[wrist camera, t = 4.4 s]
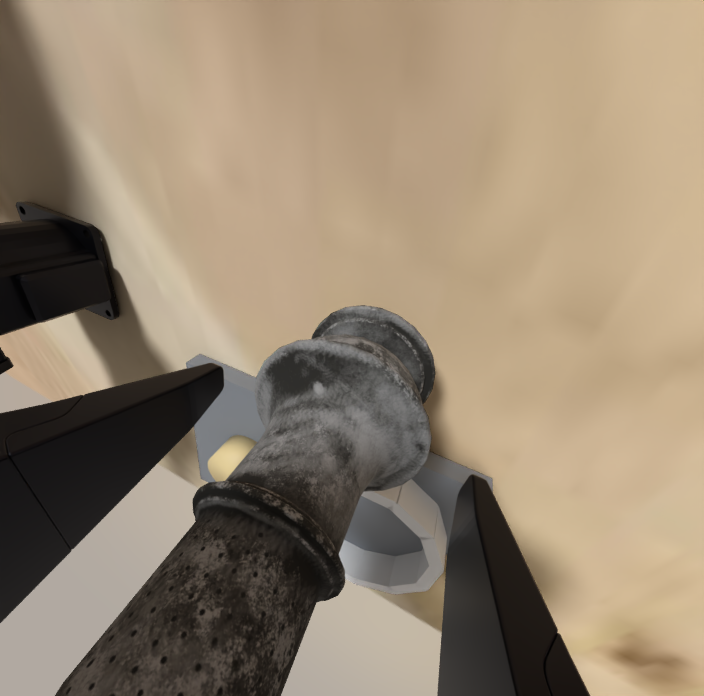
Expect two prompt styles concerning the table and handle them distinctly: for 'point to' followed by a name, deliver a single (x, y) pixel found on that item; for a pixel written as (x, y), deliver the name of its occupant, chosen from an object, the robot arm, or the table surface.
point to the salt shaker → (275, 518)
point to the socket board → (373, 506)
